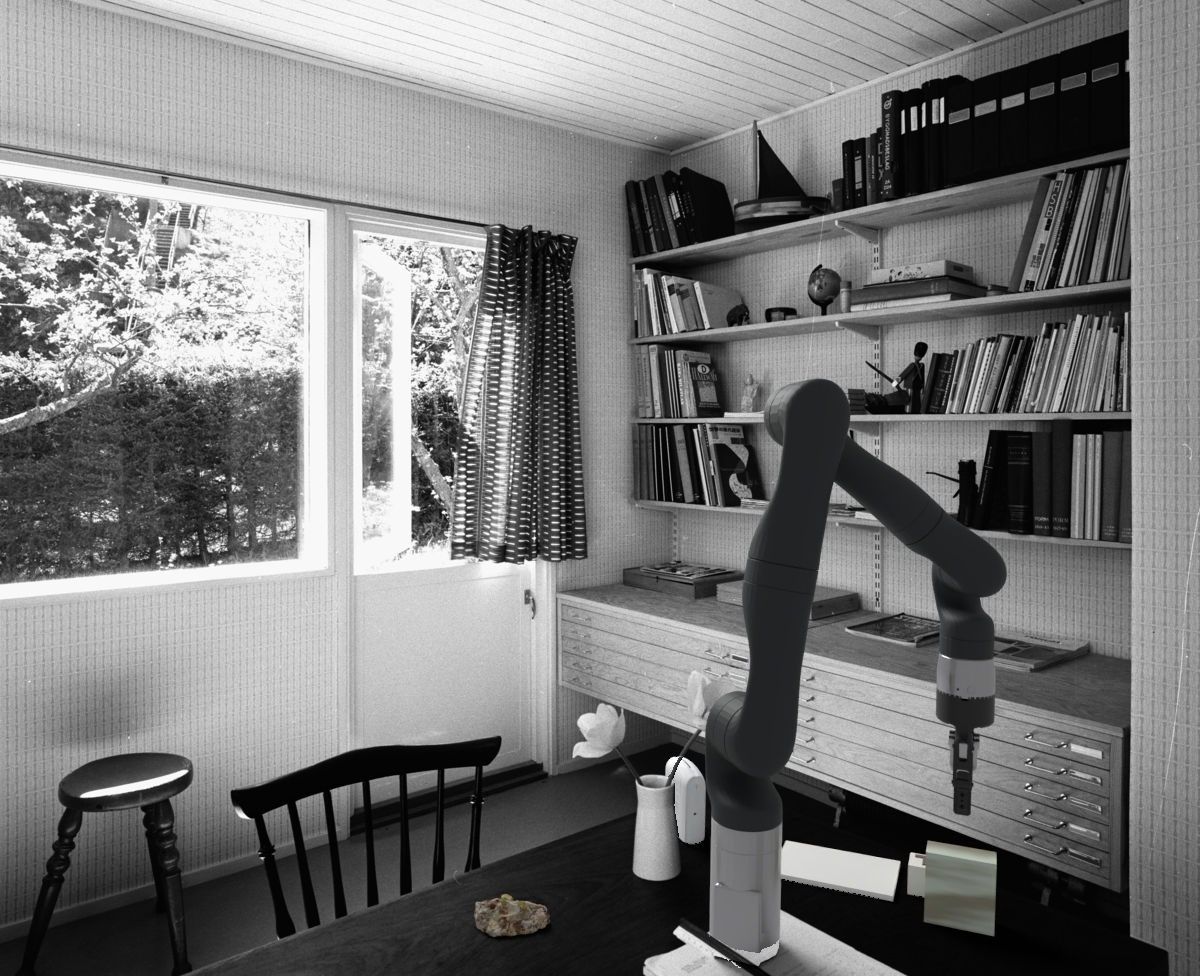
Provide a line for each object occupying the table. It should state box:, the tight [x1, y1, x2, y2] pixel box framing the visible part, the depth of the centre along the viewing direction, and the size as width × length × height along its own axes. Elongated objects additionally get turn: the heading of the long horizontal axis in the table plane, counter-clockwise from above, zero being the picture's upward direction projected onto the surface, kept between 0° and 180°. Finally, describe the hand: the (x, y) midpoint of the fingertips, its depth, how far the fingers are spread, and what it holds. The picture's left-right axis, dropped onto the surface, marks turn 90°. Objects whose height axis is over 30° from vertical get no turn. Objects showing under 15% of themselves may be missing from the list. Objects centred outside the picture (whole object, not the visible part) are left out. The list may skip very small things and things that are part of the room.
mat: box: [781, 840, 901, 902], centre depth 141 cm, size 12×18×1 cm, turn 67°
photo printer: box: [665, 756, 707, 845], centre depth 154 cm, size 10×4×12 cm, turn 17°
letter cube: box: [906, 852, 926, 898], centre depth 135 cm, size 4×4×5 cm
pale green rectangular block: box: [923, 840, 998, 937], centre depth 126 cm, size 4×9×10 cm, turn 67°
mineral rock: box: [473, 893, 551, 938], centre depth 125 cm, size 11×4×8 cm
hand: (962, 802), depth 126 cm, fingers open, 8 cm apart
